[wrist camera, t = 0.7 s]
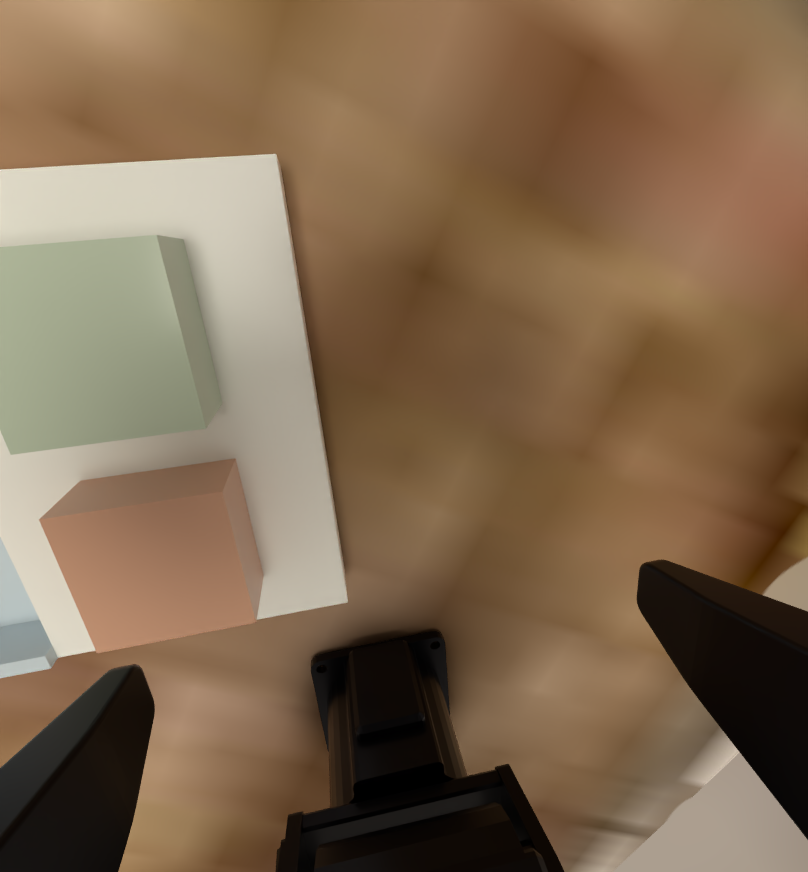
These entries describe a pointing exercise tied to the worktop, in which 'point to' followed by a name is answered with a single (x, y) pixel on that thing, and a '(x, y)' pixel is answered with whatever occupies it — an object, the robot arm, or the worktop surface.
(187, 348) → the sage tile
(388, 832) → the robot arm
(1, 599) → the tray
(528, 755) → the worktop surface
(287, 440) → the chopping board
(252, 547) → the terracotta tile
